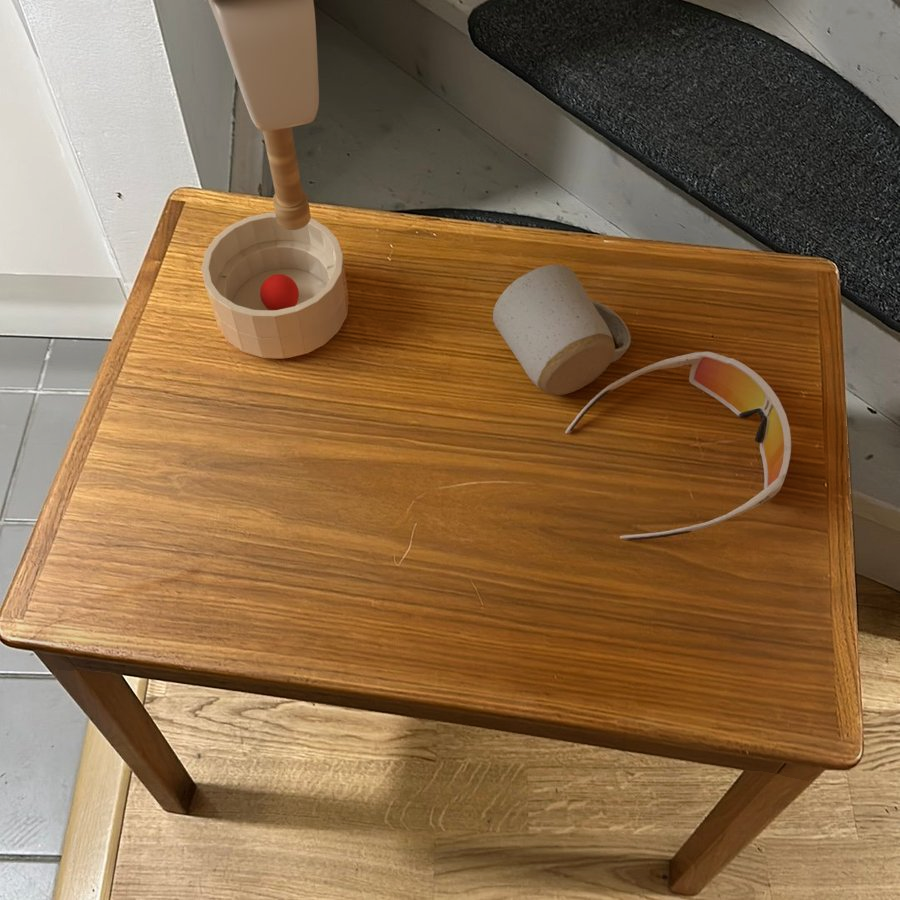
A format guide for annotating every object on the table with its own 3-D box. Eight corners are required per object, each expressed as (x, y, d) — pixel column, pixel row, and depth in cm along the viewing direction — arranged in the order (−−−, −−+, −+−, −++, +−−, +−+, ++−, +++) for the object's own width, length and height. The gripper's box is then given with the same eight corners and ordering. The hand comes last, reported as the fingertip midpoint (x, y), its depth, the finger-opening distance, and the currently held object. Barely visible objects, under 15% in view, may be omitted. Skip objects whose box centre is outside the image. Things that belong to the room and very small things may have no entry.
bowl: (229, 376, 75) (214, 329, 70) (207, 277, 81) (192, 227, 76) (362, 346, 77) (357, 298, 72) (332, 251, 83) (325, 200, 78)
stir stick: (280, 233, 70) (227, -20, 53) (273, 209, 71) (220, -45, 54) (314, 226, 70) (272, -27, 53) (306, 203, 71) (264, -52, 54)
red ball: (267, 324, 78) (261, 299, 75) (260, 296, 79) (253, 270, 76) (304, 316, 78) (299, 290, 75) (296, 288, 80) (292, 262, 77)
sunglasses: (813, 500, 70) (829, 469, 65) (631, 574, 69) (634, 548, 64) (721, 359, 77) (729, 323, 72) (554, 425, 76) (552, 392, 71)
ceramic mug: (535, 414, 74) (547, 354, 67) (487, 341, 77) (494, 278, 71) (647, 368, 76) (668, 307, 70) (595, 300, 80) (611, 236, 74)
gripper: (145, -208, 54) (198, 11, 66) (197, -9, 44) (249, 208, 56) (252, -221, 55) (285, -3, 67) (327, -30, 45) (351, 188, 57)
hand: (269, 95), depth 61 cm, fingers closed on stir stick, 2 cm apart
